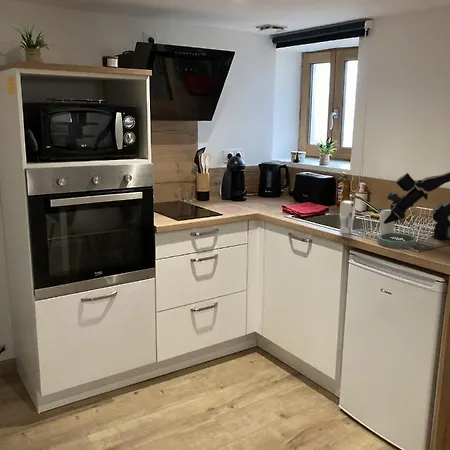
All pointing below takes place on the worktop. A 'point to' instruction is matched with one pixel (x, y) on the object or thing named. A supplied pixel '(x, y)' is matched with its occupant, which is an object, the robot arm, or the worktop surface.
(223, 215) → the worktop surface
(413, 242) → the dish
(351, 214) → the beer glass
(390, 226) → the can
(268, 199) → the worktop surface
